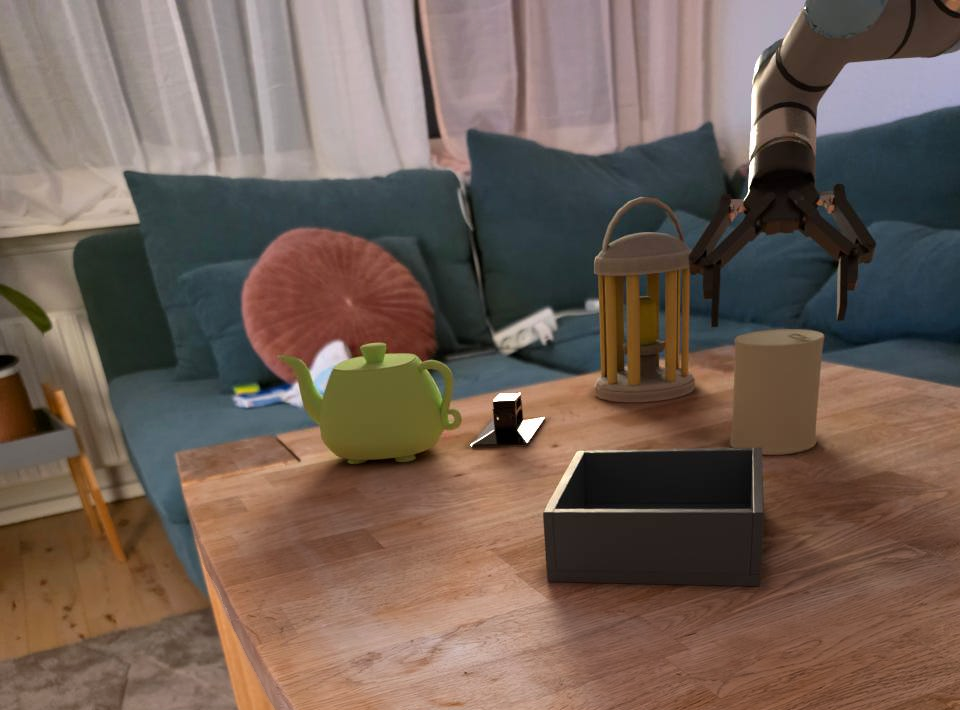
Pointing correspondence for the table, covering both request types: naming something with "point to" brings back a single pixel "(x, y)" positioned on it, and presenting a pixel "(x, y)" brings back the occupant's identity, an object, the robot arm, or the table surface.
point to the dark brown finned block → (508, 424)
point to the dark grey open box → (658, 518)
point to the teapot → (379, 405)
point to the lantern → (643, 313)
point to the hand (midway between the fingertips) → (777, 316)
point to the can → (776, 390)
